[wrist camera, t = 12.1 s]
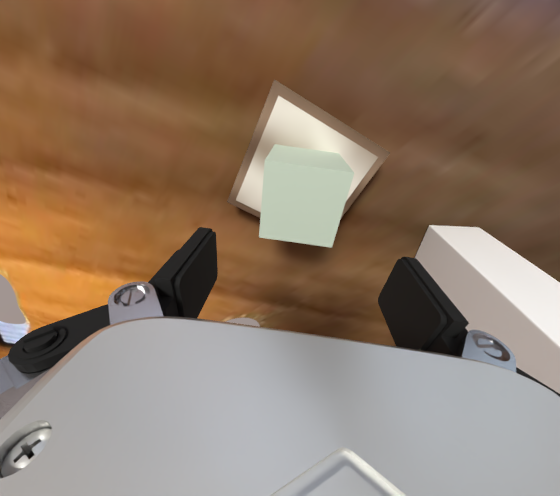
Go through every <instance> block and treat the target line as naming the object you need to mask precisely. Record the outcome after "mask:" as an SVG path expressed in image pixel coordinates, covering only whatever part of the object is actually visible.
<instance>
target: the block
mask: <svg viewBox="0 0 560 496" xmlns="http://www.w3.org/2000/svg"><path fill="white" fill-rule="evenodd" d="M353 176H354V172H353V170H352V169H351V168H350V167H349V165H348V164H347V163H346V162H345V160H344V159H343V158H342V157H341V155H340V154H339V153H334V152H327V151H320V150H313V149H306V148H299V147H291V146H284V145H277V144H275V145H274V146H273V148H272V149H271V151H270V153H269V154H268V156H267V157H266V159H265V163H264V176H263V190H262V204H261V217H260V231H259V237H260V238H267V239H274V240H282V241H289V242H296V243H303V244H310V245H317V246H324V247H331V248H332V245H333V242H334V239H335V235H336V232H337V229H338V226H339V222H340V219H341V216H342V212H343V209H344V206H345V203H346V199H347V196H348V193H349V189H350V186H351V183H352V179H353Z"/></svg>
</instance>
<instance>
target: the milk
mask: <svg viewBox="0 0 560 496" xmlns="http://www.w3.org/2000/svg"><path fill="white" fill-rule="evenodd" d="M415 258H416V259H417V260H418V261H419V262H420V263H421V265H422V266H423V267H424V268H425V269H426V271H427V272H428V273H429V274H430V276H431V277H432V278H433V279H434V281H435V282H436V283H437V284H438V285H439V287H440V288H441V289H442V290H443V292H444V293H445V294H446V295H447V296H448V298H449V299H450V300H451V301H452V303H453V304H454V305H455V306H456V307H457V309H458V310H459V311H460V312H461V314H462V315H463V316H464V317H465V318H466V320H467V321H468V322H469V324H468V325H467V326H466V327H465V328H466V329H467V331H468V332H469V331H470V330H480V331H483V332H486V333H488V334H490V335H492V336H494V337H495V338H497V339H499V340H500V341H501V342H502V343H504V344H505V345H506V346H507V347H508V348H509V349H510V350H511V351H512V353H513V354H514V356H515V359H516V367H517V368H519V369H520V370H522V371H524V372H525V373H527V374H529V375H530V376H532V377H533V378H535V379H537V380H538V381H540V382H542V383H543V384H545V385H546V386H548V387H550V388H551V389H553V390H555V391H556V392H558V393H559V394H560V283H559V282H558V281H557V280H555V279H554V278H552V277H551V276H549V275H548V274H546V273H545V272H543V271H542V270H540V269H539V268H538V267H536V266H535V265H533V264H532V263H530V262H529V261H527V260H526V259H524V258H523V257H521V256H520V255H519V254H517V253H516V252H514V251H513V250H511V249H510V248H508V247H507V246H505V245H504V244H502V243H501V242H500V241H498V240H497V239H495V238H494V237H492V236H491V235H489V234H488V233H486V232H485V231H483V230H482V229H480V228H479V227H459V226H436V225H429V227H428V229H427V231H426V233H425V236H424V238H423V240H422V242H421V245H420V247H419V249H418V251H417V254H416V256H415Z"/></svg>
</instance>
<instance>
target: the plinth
mask: <svg viewBox="0 0 560 496" xmlns="http://www.w3.org/2000/svg"><path fill="white" fill-rule="evenodd" d="M275 144H277V145H284V146H291V147H299V148H306V149H313V150H320V151H327V152H334V153H339V154H340V155H341V157H342V158H343V159H344V160H345V162H346V163H347V164H348V165H349V167H350V168H351V169H352V170H353V172H354V176H353V179H352V183H351V186H350V189H349V193H348V196H347V199H346V203H345V206H344V209H343V212H342V216H343V215H344V214H345V212H346V211H347V210H348V208H349V207H350V206H351V204H352V203H353V202H354V200H355V199H356V198H357V196H358V195H359V194H360V193H361V191H362V190H363V189H364V187H365V186H366V185H367V183H368V182H369V181H370V179H371V178H372V177H373V175H374V174H375V173H376V171H377V170H378V169H379V167H380V166H381V165H382V163H383V162H384V161H385V159H386V158H387V157H388V155H389V154H390V152H388V151H387V150H385V149H384V148H382V147H380V146H379V145H377V144H376V143H374V142H372V141H371V140H369V139H368V138H366V137H365V136H363V135H361V134H360V133H358V132H357V131H355V130H353V129H352V128H350V127H349V126H347V125H346V124H344V123H342V122H341V121H339V120H338V119H336V118H334V117H333V116H331V115H330V114H328V113H327V112H325V111H323V110H322V109H320V108H319V107H317V106H316V105H314V104H312V103H311V102H309V101H308V100H306V99H304V98H303V97H301V96H300V95H298V94H297V93H295V92H293V91H292V90H290V89H289V88H287V87H285V86H284V85H282V84H281V83H279V82H278V81H276V80H274V82H273V84H272V87H271V90H270V92H269V95H268V97H267V100H266V103H265V105H264V108H263V110H262V113H261V116H260V118H259V121H258V123H257V126H256V128H255V131H254V134H253V136H252V139H251V141H250V144H249V147H248V149H247V152H246V154H245V157H244V160H243V162H242V165H241V167H240V170H239V173H238V175H237V178H236V180H235V183H234V185H233V188H232V191H231V193H230V196H229V198H228V201H227V202H228V203H230V204H232V205H234V206H236V207H238V208H240V209H242V210H244V211H246V212H249V213H251V214H253V215H255V216H257V217H259V218H260V217H261V204H262V190H263V176H264V163H265V159H266V157H267V156H268V154H269V153H270V151H271V149H272V148H273V146H274V145H275ZM342 216H341V218H342ZM316 246H317V245H316ZM318 247H320V246H318Z"/></svg>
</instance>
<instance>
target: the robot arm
mask: <svg viewBox="0 0 560 496" xmlns="http://www.w3.org/2000/svg"><path fill="white" fill-rule="evenodd" d="M216 279H217V249H216V233H215V232H213V231H212V229H209V228H202V227H200V228H198V229H197V231H196V232H195V233H194V234H193V235H192V236H191V237H190V239H189V240H188V241H187V242H186V243H185V244H184V245H183V246H182V248H181V249H180V250H177V251H176V252H175V253H174V254H173V255H172V257H171V258H170V259H169V260H168V261H167V262H166V263H165V264H164V265H163V267H162V268H161V269H160V270H159V271H158V272H157V273H156V274H155V275H154V277H153V278H152V279H151V280H150V281H149V282H148V283H147V282H132V283H128V284H125V285H123V286H121V287H119V288H117V289H116V290H115V291H114V292H112V293H111V295H110V296H109V299H108V304H107V305H104V306H101V307H98V308H95V309H92V310H89V311H87V312H84V313H81V314H78V315H75V316H72V317H69V318H66V319H63V320H61V321H58V322H55V323H52V324H49V325H46V326H43V327H41V328H38V329H36V330H34V331H32V332H30V333H28V334H27V335H25V336H24V337H22V338H21V339H20V340H19V341H17V342H16V343H15V344H14V346H13V347H12V348H11V349H10V352H9V354H8V355H7V356H5V357H3V358H2V359H0V496H560V394H559V393H558V392H556V391H555V390H553V389H551V388H550V387H548V386H546V385H545V384H543V383H542V382H540V381H538V380H537V379H535V378H533V377H532V376H530V375H529V374H527V373H525V372H524V371H522V370H520V369H519V368H517V367H516V359H515V356H514V354H513V353H512V351H511V350H510V349H509V348H508V347H507V346H506V345H505V344H504V343H502V342H501V341H500V340H499V339H497V338H495V337H494V336H492V335H490V334H488V333H486V332H483V331H480V330H470V331H469V332H468V331H467V329H466V328H465V327H466V326H467V325H468V324H469V322H468V321H467V320H466V318H465V317H464V316H463V315H462V314H461V312H460V311H459V310H458V309H457V307H456V306H455V305H454V304H453V303H452V301H451V300H450V299H449V298H448V296H447V295H446V294H445V293H444V292H443V290H442V289H441V288H440V287H439V285H438V284H437V283H436V282H435V281H434V279H433V278H432V277H431V276H430V274H429V273H428V272H427V271H426V269H425V268H424V267H423V266H422V265H421V263H420V262H419V261H418V260H417V259H416V258H410V257H402V258H401V259H398V260H397V262H396V264H395V266H394V268H393V270H392V272H391V274H390V276H389V278H388V280H387V282H386V284H385V285H384V287H383V289H382V291H381V293H380V295H379V298H378V303H379V306H380V308H381V311H382V313H383V316H384V318H385V320H386V323H387V325H388V327H389V330H390V332H391V335H392V337H393V339H394V342H395V344H396V346H397V347H396V346H390V345H383V344H376V343H370V342H363V341H356V340H349V339H342V338H335V337H329V336H322V335H315V334H308V333H301V332H294V331H287V330H280V329H272V328H265V327H258V326H250V325H243V324H236V323H229V322H221V321H213V320H205V319H197V317H198V315H199V313H200V311H201V309H202V307H203V305H204V303H205V301H206V299H207V297H208V295H209V293H210V291H211V289H212V287H213V285H214V283H215V281H216Z"/></svg>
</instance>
